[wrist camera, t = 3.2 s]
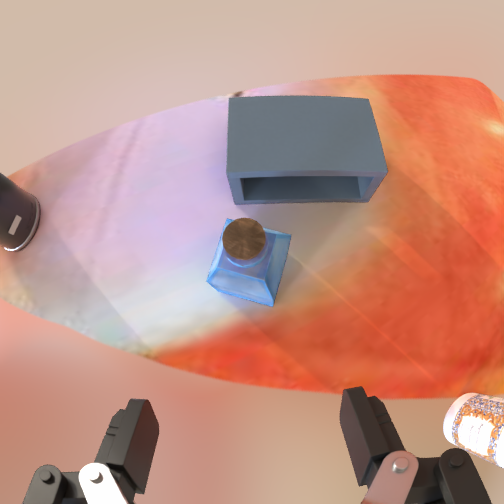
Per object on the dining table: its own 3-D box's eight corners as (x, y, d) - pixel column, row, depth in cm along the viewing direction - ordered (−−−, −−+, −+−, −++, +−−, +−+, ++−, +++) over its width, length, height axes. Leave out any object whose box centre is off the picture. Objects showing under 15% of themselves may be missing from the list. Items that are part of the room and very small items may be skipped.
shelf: (234, 204, 36) (226, 172, 29) (235, 136, 39) (228, 97, 32) (368, 202, 35) (388, 171, 28) (355, 135, 38) (368, 98, 31)
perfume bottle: (287, 252, 34) (296, 210, 23) (272, 306, 33) (274, 291, 21) (234, 238, 35) (216, 191, 24) (217, 291, 34) (190, 267, 22)
